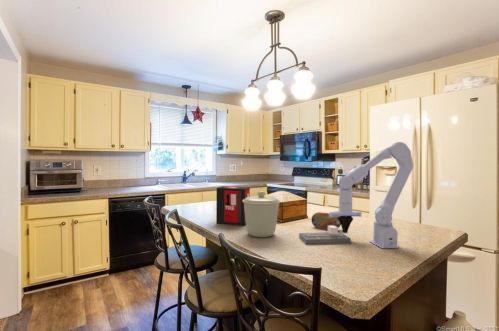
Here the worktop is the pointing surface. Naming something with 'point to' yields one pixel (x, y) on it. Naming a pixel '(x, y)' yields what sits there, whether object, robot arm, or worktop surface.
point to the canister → (261, 214)
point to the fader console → (324, 238)
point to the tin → (324, 220)
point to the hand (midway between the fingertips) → (344, 232)
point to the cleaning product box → (231, 205)
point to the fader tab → (332, 230)
